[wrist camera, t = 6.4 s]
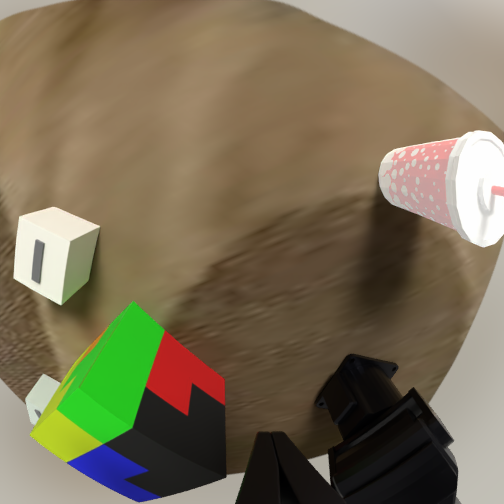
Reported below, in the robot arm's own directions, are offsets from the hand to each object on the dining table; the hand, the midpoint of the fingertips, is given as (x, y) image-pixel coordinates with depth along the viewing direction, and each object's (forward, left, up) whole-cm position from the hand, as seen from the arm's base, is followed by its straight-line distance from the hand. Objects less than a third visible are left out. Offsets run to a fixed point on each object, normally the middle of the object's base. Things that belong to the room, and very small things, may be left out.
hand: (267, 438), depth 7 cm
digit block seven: (+13, +20, -13) cm, 27 cm away
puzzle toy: (+5, +11, -13) cm, 18 cm away
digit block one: (+13, +2, -13) cm, 19 cm away
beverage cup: (-8, -12, -13) cm, 20 cm away
